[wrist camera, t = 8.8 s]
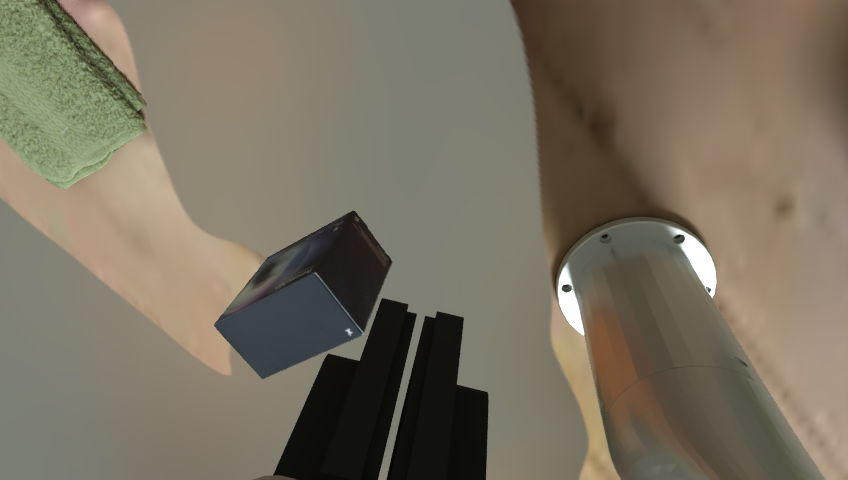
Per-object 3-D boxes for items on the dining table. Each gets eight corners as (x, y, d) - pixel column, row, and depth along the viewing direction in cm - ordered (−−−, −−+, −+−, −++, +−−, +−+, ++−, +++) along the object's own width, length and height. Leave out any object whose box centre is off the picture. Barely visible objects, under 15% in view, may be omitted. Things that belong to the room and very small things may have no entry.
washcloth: (76, 191, 48) (49, 205, 45) (-93, 17, 42) (-135, 21, 39) (167, 118, 43) (144, 129, 40) (-8, -90, 37) (-50, -94, 35)
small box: (353, 204, 44) (314, 268, 35) (395, 262, 47) (369, 336, 37) (263, 255, 48) (207, 325, 39) (306, 306, 50) (263, 384, 41)
